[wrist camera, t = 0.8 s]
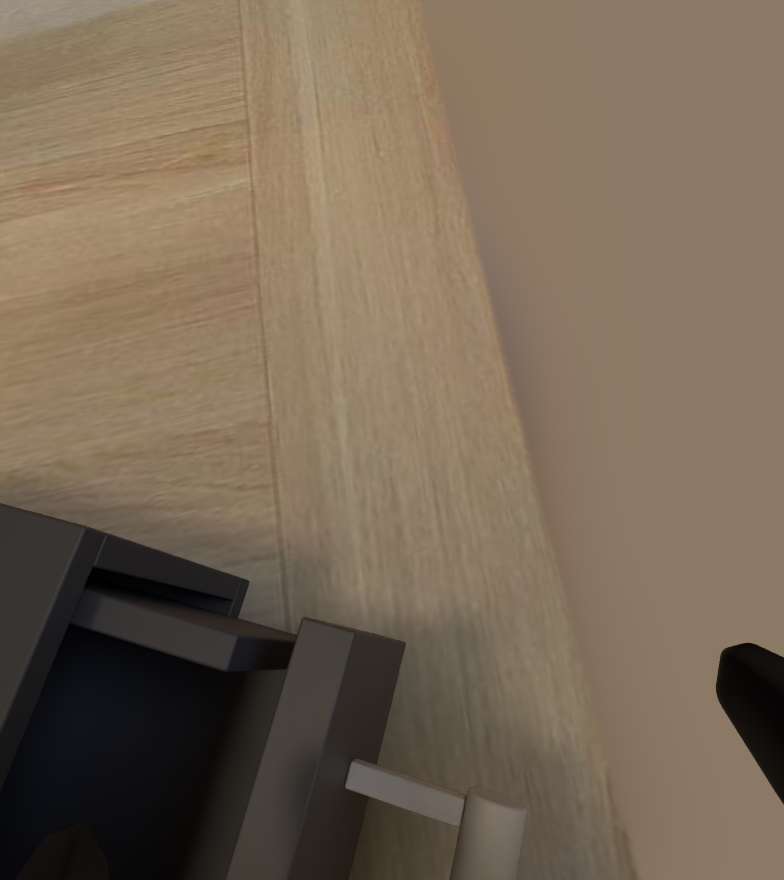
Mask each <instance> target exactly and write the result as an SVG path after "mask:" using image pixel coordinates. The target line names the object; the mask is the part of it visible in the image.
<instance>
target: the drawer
mask: <svg viewBox="0 0 784 880" xmlns="http://www.w3.org/2000/svg"><path fill="white" fill-rule="evenodd" d="M405 645H406V644H405V642H402V641H399V640H395V639H392V638H388V637H384V636H381V635H377V634H374V633H370V632H365V631H361V630H357V629H353V628H348V627H344V626H340V625H336V624H332V623H327V622H323V621H319V620H315V619H311V618H306V617H304V618H303V619H302V620H301V624H300V627H299V630H298V634H297V635H294V634H291V633H287V632H284V631H280V630H277V629H273V628H270V627H266V626H263V625H259V624H256V623H252V622H249V621H246V620H242V619H239V618H235V617H232V616H228V615H225V614H221V613H218V612H214V611H211V610H208V609H204V608H201V607H197V606H194V605H190V604H187V603H183V602H180V601H176V600H173V599H169V598H166V597H163V596H159V595H156V594H152V593H149V592H145V591H142V590H138V589H135V588H131V587H128V586H125V585H121V584H118V583H114V582H111V581H107V580H104V579H100V578H97V577H93V576H90V575H89V576H88V579H87V581H86V584H85V586H84V589H83V591H82V594H81V596H80V598H79V601H78V603H77V606H76V608H75V611H74V613H73V616H72V618H71V620H70V623H69V625H68V628H67V630H66V633H65V635H64V638H63V640H62V642H61V645H60V647H59V650H58V652H57V655H56V657H55V660H54V662H53V664H52V667H51V669H50V672H49V674H48V677H47V679H46V682H45V684H44V686H43V689H42V691H41V694H40V696H39V699H38V701H37V703H36V706H35V708H34V711H33V713H32V716H31V718H30V721H29V723H28V725H27V728H26V730H25V733H24V735H23V738H22V740H21V743H20V745H19V747H18V750H17V752H16V755H15V757H14V760H13V762H12V765H11V767H10V769H9V772H8V774H7V777H6V779H5V782H4V784H3V787H2V789H1V791H0V880H15V879H16V878H17V876H18V875H19V873H20V872H21V871H22V869H23V868H24V866H25V865H26V864H27V862H28V861H29V859H30V858H31V857H32V855H33V854H34V853H35V851H36V850H37V848H38V847H39V846H40V844H41V843H42V841H43V840H44V839H45V838H46V837H47V836H48V835H49V834H50V833H51V832H53V831H55V830H57V829H61V828H65V827H68V826H72V825H76V824H80V823H83V824H85V825H87V826H88V827H89V828H90V830H91V832H92V834H93V836H94V838H95V839H96V841H97V843H98V845H99V847H100V849H101V851H102V853H103V855H104V857H105V859H106V861H107V865H108V872H109V880H348V879H349V875H350V870H351V866H352V862H353V858H354V854H355V850H356V846H357V842H358V838H359V833H360V829H361V825H362V821H363V817H364V813H365V809H366V805H367V801H368V797H372V798H374V799H377V800H380V801H383V802H386V803H389V804H392V805H395V806H398V807H400V808H403V809H406V810H409V811H412V812H415V813H418V814H421V815H424V816H427V817H429V818H432V819H435V820H438V821H441V822H444V823H447V824H450V825H453V826H455V827H459V826H460V829H459V834H458V839H457V844H456V849H455V854H454V859H453V864H452V869H451V874H450V879H449V880H516V877H517V871H518V865H519V859H520V853H521V847H522V842H523V836H524V830H525V824H526V818H527V808H526V806H525V805H523V804H522V803H521V802H519V801H518V800H516V799H514V798H512V797H509V796H507V795H505V794H502V793H499V792H496V791H493V790H489V789H485V788H478V787H474V788H469V790H468V791H467V794H466V797H465V795H464V794H462V793H459V792H456V791H453V790H450V789H447V788H444V787H441V786H438V785H435V784H432V783H429V782H426V781H423V780H420V779H417V778H414V777H411V776H408V775H405V774H402V773H399V772H396V771H393V770H390V769H387V768H384V767H381V766H378V765H376V764H377V760H378V756H379V751H380V747H381V743H382V739H383V735H384V731H385V727H386V723H387V719H388V715H389V710H390V706H391V702H392V698H393V694H394V690H395V686H396V682H397V678H398V674H399V669H400V665H401V661H402V657H403V653H404V649H405Z"/></svg>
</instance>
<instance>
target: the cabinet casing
mask: <svg viewBox="0 0 784 880" xmlns="http://www.w3.org/2000/svg"><path fill="white" fill-rule="evenodd" d="M89 575H90V576H93V577H97V578H100V579H104V580H107V581H111V582H114V583H118V584H121V585H125V586H128V587H131V588H135V589H138V590H142V591H145V592H149V593H152V594H156V595H159V596H163V597H166V598H169V599H173V600H176V601H180V602H183V603H187V604H190V605H194V606H197V607H201V608H204V609H208V610H211V611H214V612H218V613H221V614H225V615H228V616H232V617H235V618H238V615H239V612H240V609H241V606H242V603H243V600H244V597H245V594H246V591H247V588H248V585H249V580H246V579H243V578H240V577H237V576H234V575H231V574H228V573H225V572H222V571H219V570H216V569H213V568H210V567H207V566H204V565H201V564H198V563H195V562H192V561H189V560H186V559H183V558H180V557H177V556H174V555H171V554H168V553H165V552H162V551H159V550H156V549H153V548H150V547H147V546H144V545H141V544H138V543H135V542H132V541H129V540H126V539H123V538H120V537H117V536H114V535H111V534H108V533H104V532H102V531H99V530H96V529H93V528H90V527H87V526H83V525H79V524H76V523H72V522H68V521H64V520H61V519H57V518H53V517H50V516H46V515H42V514H38V513H35V512H31V511H27V510H23V509H20V508H16V507H12V506H8V505H5V504H1V503H0V791H1V789H2V787H3V784H4V782H5V779H6V777H7V774H8V772H9V769H10V767H11V765H12V762H13V760H14V757H15V755H16V752H17V750H18V747H19V745H20V743H21V740H22V738H23V735H24V733H25V730H26V728H27V725H28V723H29V721H30V718H31V716H32V713H33V711H34V708H35V706H36V703H37V701H38V699H39V696H40V694H41V691H42V689H43V686H44V684H45V682H46V679H47V677H48V674H49V672H50V669H51V667H52V664H53V662H54V660H55V657H56V655H57V652H58V650H59V647H60V645H61V642H62V640H63V638H64V635H65V633H66V630H67V628H68V625H69V623H70V620H71V618H72V616H73V613H74V611H75V608H76V606H77V603H78V601H79V598H80V596H81V594H82V591H83V589H84V586H85V584H86V581H87V579H88V576H89Z"/></svg>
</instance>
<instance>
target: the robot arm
mask: <svg viewBox="0 0 784 880" xmlns="http://www.w3.org/2000/svg"><path fill="white" fill-rule="evenodd" d="M716 693H717V697H718V700H719V702H720V704H721V706H722V708H723V709H724V711H725V713H726V714H727V716H728V717H729V719H730V720H731V722H732V724H733V725H734V727H735V728H736V730H737V732H738V733H739V735H740V736H741V738H742V740H743V741H744V743H745V744H746V746H747V748H748V749H749V751H750V752H751V754H752V755H753V757H754V759H755V760H756V762H757V763H758V765H759V767H760V768H761V770H762V771H763V773H764V775H765V776H766V778H767V779H768V781H769V783H770V784H771V786H772V787H773V789H774V790H775V792H776V793H777V795H778V796H779V798H780V799H781V801H782V802H783V804H784V657H782V656H779V655H777V654H775V653H773V652H771V651H769V650H766V649H764V648H762V647H760V646H758V645H755V644H752V643H743V644H739V645H735V646H732V647H728V648H726V649H724V650H723V651H722V653H721V656H720V662H719V669H718V675H717V682H716ZM15 880H109V872H108V865H107V861H106V859H105V857H104V855H103V853H102V851H101V849H100V847H99V845H98V843H97V841H96V839H95V838H94V836H93V834H92V832H91V830H90V828H89V827H88V826H87V825H85V824H83V823H80V824H76V825H72V826H68V827H65V828H61V829H57V830H55V831H53V832H51V833H50V834H49V835H48V836H47V837H46V838H45V839H44V840H43V841H42V843H41V844H40V846H39V847H38V848H37V850H36V851H35V853H34V854H33V855H32V857H31V858H30V859H29V861H28V862H27V864H26V865H25V866H24V868H23V869H22V871H21V872H20V873H19V875H18V876H17V878H16V879H15Z"/></svg>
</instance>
